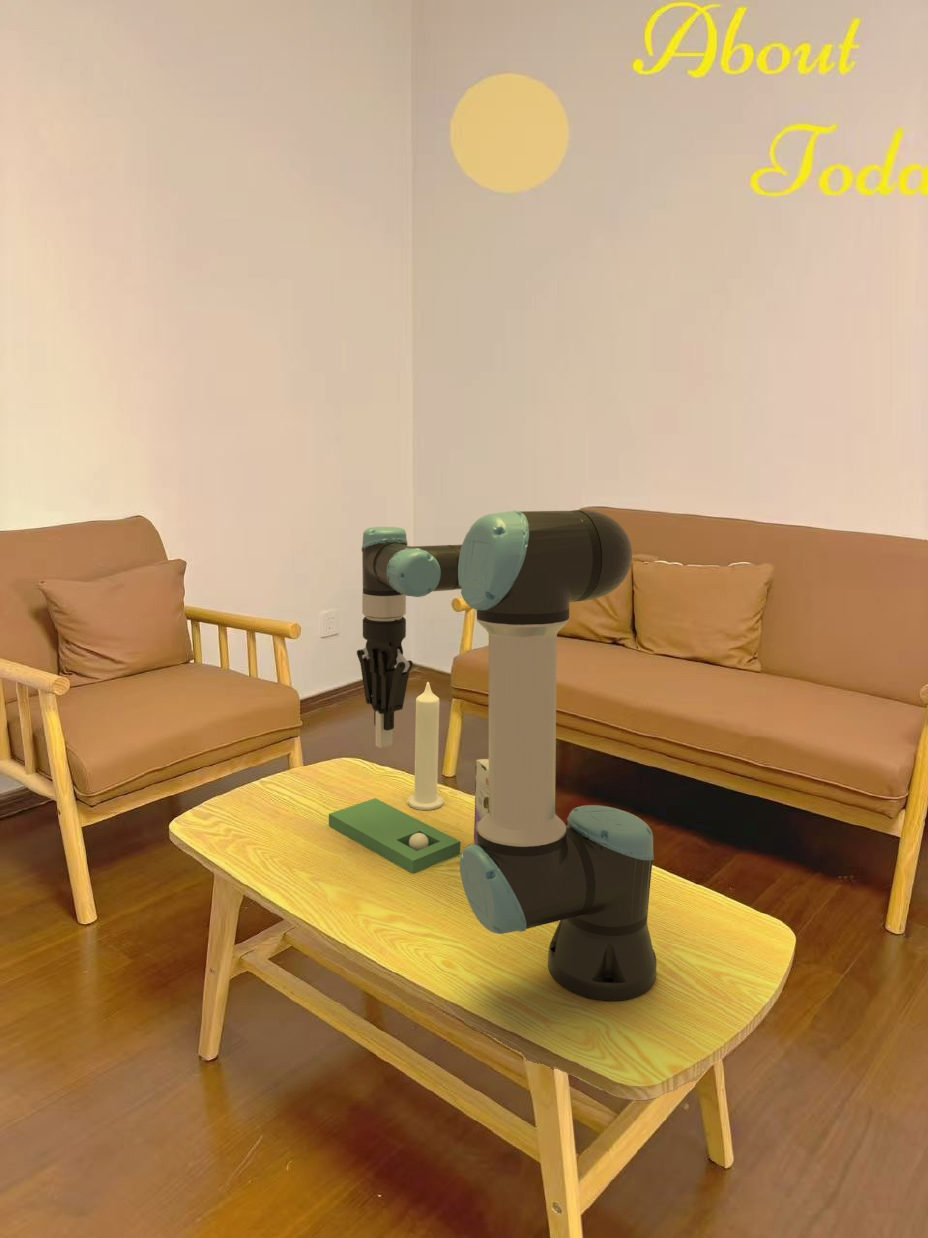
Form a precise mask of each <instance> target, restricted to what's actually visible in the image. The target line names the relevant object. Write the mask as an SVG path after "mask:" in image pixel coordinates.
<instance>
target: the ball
mask: <svg viewBox="0 0 928 1238" xmlns="http://www.w3.org/2000/svg"><path fill="white" fill-rule="evenodd" d="M428 845H429V841H428V838H427V837H426V836H425V835H424V834H422V833H415V834H413V835H412V836H411V837H410V839H409V847H410V848H412V849H414V850H416V851H418V850H420V849H423V848H425V847H428Z"/></svg>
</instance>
